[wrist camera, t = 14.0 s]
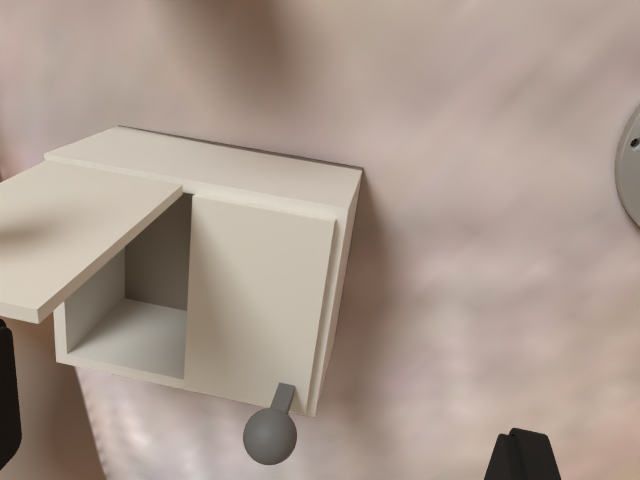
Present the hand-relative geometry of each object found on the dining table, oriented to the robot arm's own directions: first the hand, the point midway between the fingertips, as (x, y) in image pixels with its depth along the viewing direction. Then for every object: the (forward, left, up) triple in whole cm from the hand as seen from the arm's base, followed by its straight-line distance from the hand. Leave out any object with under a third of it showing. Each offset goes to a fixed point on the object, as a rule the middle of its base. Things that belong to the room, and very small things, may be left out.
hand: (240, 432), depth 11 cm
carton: (+9, +10, -30) cm, 33 cm away
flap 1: (+13, +4, -14) cm, 20 cm away
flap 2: (+5, +10, -21) cm, 24 cm away
